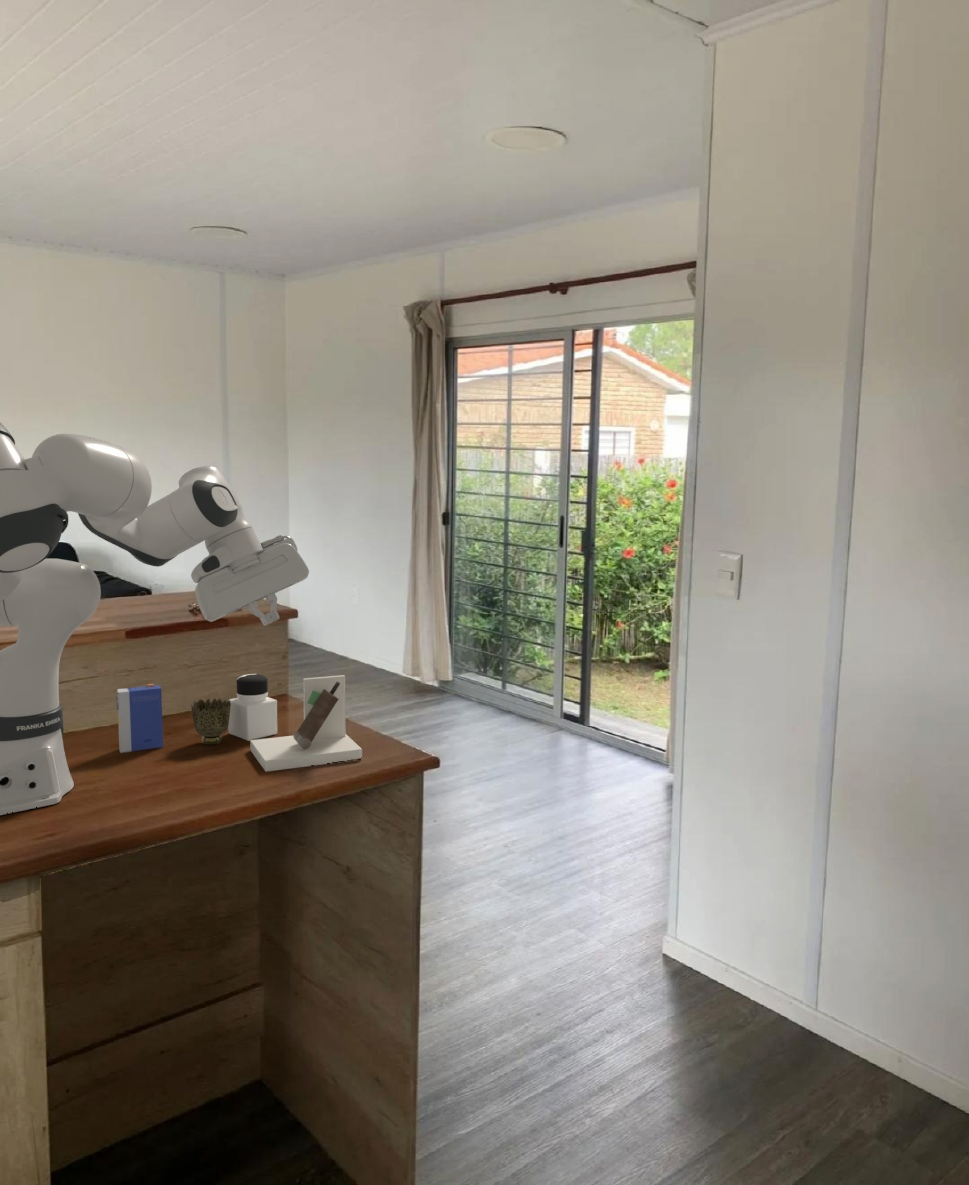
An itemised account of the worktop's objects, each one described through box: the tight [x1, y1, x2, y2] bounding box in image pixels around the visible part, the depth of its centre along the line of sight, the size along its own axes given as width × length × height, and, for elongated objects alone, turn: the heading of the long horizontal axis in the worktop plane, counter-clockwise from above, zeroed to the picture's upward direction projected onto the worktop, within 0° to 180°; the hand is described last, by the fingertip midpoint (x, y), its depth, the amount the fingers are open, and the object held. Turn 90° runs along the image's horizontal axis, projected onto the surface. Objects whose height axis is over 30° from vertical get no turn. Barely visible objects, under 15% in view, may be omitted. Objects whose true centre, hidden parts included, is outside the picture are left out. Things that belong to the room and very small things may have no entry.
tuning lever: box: [293, 682, 340, 749], centre depth 181 cm, size 2×5×14 cm
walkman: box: [115, 683, 164, 754], centre depth 184 cm, size 8×3×12 cm, turn 119°
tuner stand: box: [249, 674, 363, 772], centre depth 181 cm, size 18×13×14 cm
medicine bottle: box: [227, 673, 278, 742], centre depth 194 cm, size 7×7×12 cm
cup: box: [190, 698, 231, 745], centre depth 188 cm, size 8×7×8 cm
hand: (272, 622), depth 173 cm, fingers closed
